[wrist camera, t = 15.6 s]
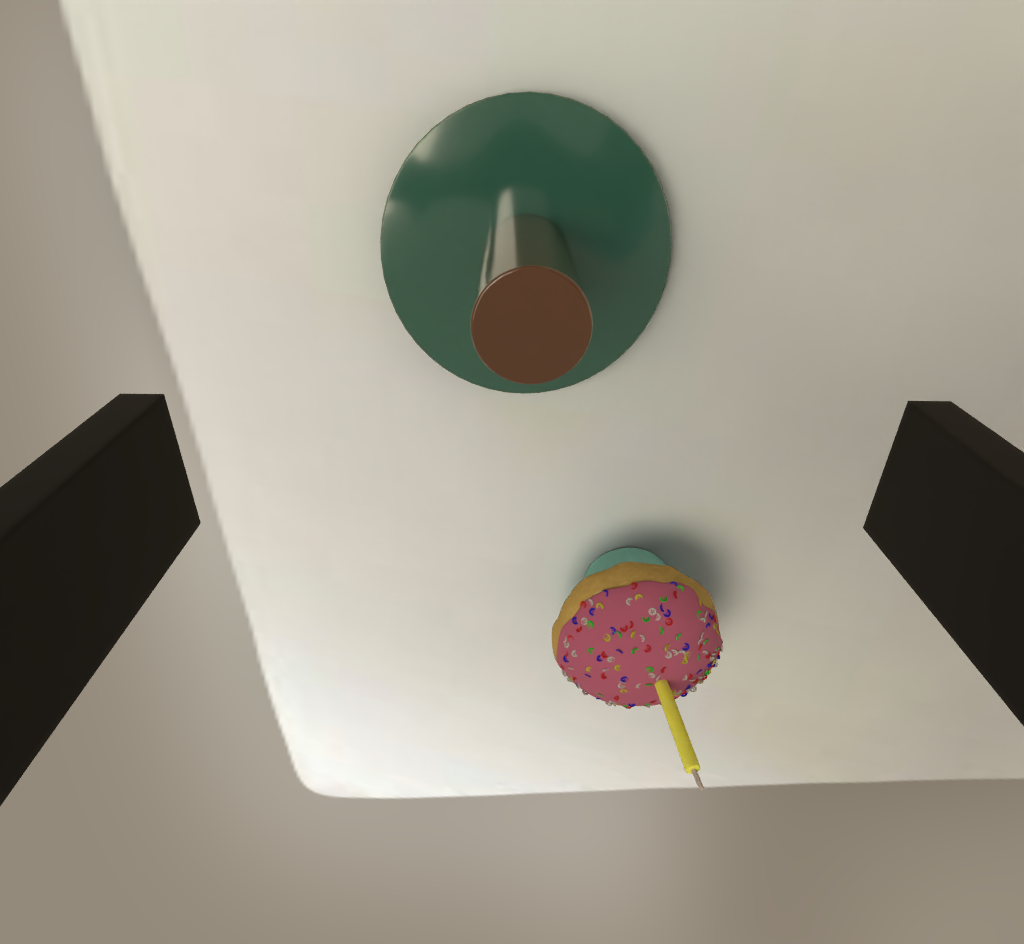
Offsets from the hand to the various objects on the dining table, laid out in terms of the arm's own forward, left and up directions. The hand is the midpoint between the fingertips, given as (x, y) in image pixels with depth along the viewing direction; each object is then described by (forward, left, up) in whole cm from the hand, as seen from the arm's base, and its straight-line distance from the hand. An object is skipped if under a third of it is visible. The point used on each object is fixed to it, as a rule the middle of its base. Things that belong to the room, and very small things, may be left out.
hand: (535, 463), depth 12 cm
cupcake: (-18, -6, -19) cm, 27 cm away
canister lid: (0, 0, -18) cm, 18 cm away
